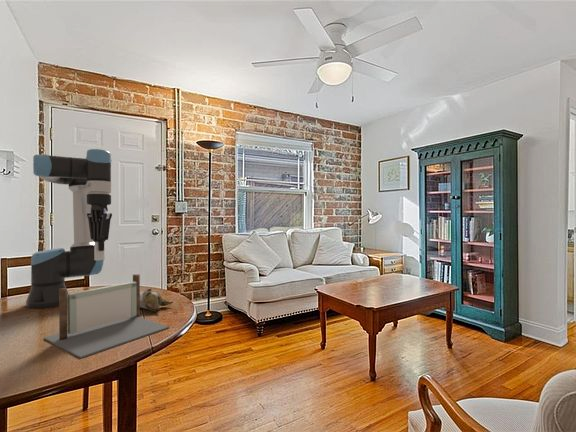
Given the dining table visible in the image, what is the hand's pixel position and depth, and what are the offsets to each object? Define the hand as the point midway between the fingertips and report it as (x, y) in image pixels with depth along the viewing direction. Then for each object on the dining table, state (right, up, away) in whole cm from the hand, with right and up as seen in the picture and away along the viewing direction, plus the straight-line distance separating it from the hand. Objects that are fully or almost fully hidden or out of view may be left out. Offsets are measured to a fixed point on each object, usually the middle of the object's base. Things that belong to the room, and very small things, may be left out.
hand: (99, 259), depth 115 cm
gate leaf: (+4, -21, -4) cm, 22 cm away
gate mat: (+8, -23, -9) cm, 26 cm away
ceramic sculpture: (+11, -23, +18) cm, 31 cm away
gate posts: (+3, -23, -3) cm, 23 cm away
